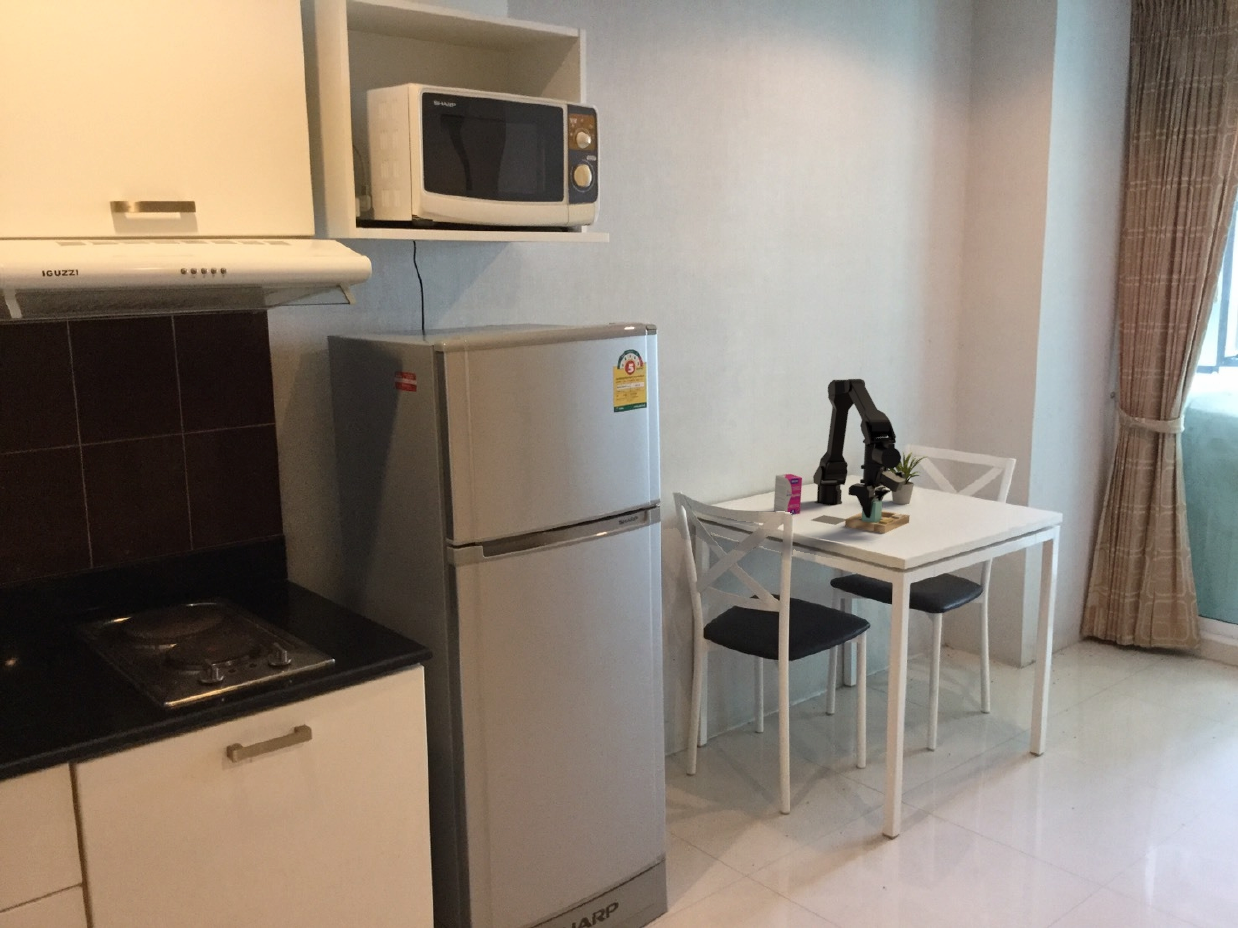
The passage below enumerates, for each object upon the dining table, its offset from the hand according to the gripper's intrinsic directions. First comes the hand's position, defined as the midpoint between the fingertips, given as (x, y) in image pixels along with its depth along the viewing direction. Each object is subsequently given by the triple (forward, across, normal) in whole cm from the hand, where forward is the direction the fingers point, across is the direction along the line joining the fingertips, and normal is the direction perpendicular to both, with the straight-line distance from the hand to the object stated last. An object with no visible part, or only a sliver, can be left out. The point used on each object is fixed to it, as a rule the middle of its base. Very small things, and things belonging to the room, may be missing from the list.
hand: (871, 516), depth 300 cm
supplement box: (+4, 0, +27) cm, 27 cm away
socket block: (+4, +4, 0) cm, 5 cm away
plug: (+2, 0, 0) cm, 2 cm away
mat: (+4, 0, +13) cm, 13 cm away
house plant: (+4, +38, +7) cm, 39 cm away
